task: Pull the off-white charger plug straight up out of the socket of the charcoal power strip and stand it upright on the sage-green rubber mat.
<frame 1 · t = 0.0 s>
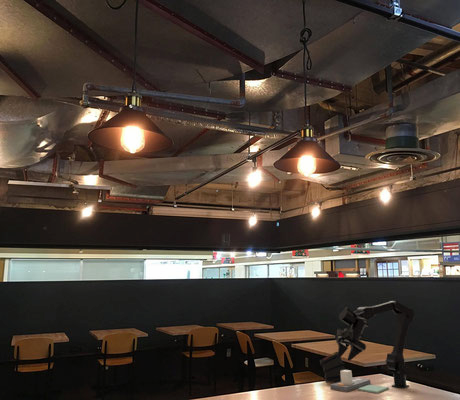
hand: (343, 359, 208), 15 cm above the table, tool tilted 35°, fingers open, 9 cm apart
green mat: (373, 389, 208), on the table
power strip: (351, 386, 217), on the table
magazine: (333, 381, 229), on the table
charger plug: (347, 387, 214), resting in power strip
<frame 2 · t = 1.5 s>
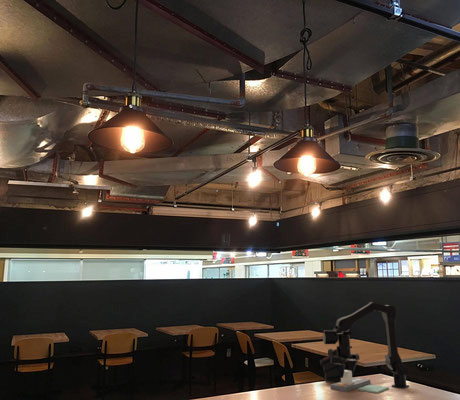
hand: (346, 376, 215), 5 cm above the table, tool pointing down, fingers open, 9 cm apart
nothing on the table moved.
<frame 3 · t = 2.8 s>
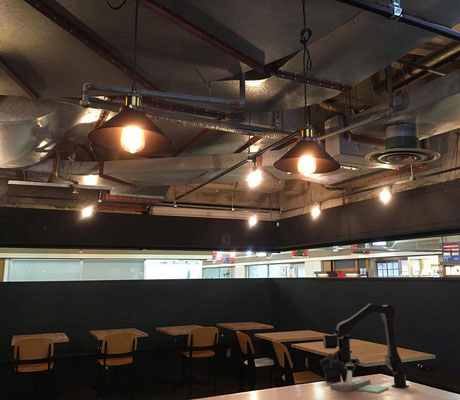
hand: (346, 381, 214), 3 cm above the table, tool pointing down, fingers closed on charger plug, 4 cm apart
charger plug: (347, 387, 214), resting in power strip, touching gripper
everything else where it was.
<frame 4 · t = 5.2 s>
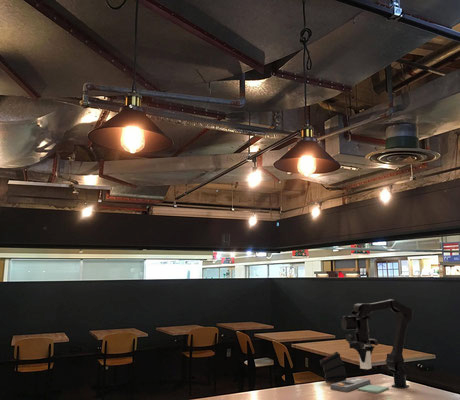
hand: (365, 361, 212), 13 cm above the table, tool pointing down, fingers closed on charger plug, 4 cm apart
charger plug: (366, 368, 212), point 10 cm above the table, touching gripper
everything else where it was.
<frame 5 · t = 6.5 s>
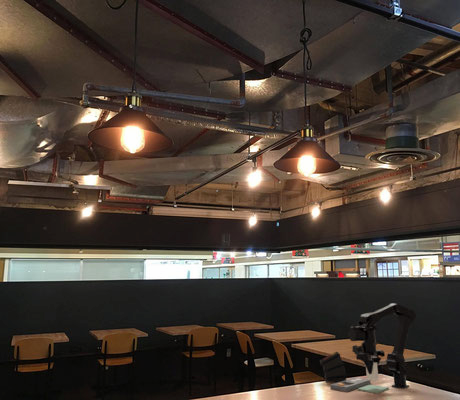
hand: (372, 373, 210), 7 cm above the table, tool pointing down, fingers closed on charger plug, 4 cm apart
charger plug: (372, 379, 209), point 4 cm above the table, touching gripper
everything else where it was.
when the fingers open (5 cm above the table, at t = 7.7 s): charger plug drops 1 cm, resting on green mat.
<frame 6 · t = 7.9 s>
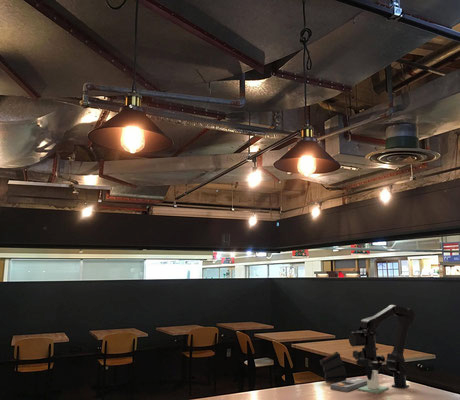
hand: (372, 378, 209), 5 cm above the table, tool pointing down, fingers open, 6 cm apart
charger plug: (373, 387, 209), point 1 cm above the table, touching green mat
everything else where it was.
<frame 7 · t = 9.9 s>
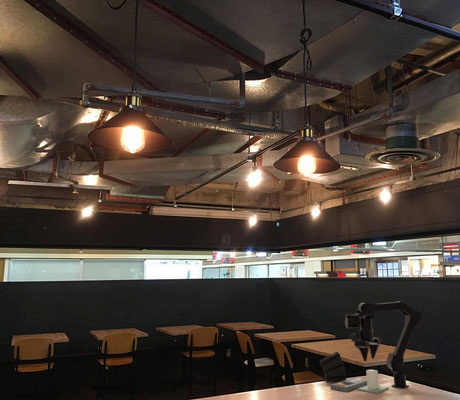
hand: (369, 359, 217), 13 cm above the table, tool pointing down, fingers open, 9 cm apart
nothing on the table moved.
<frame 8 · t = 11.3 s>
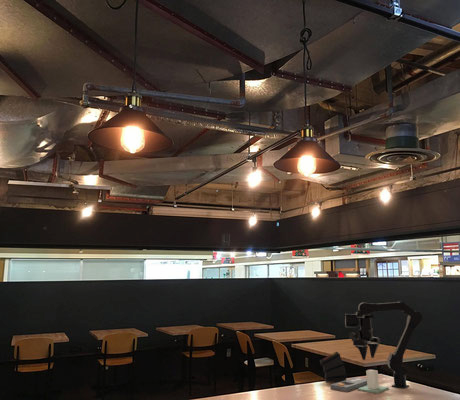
hand: (368, 358, 219), 13 cm above the table, tool pointing down, fingers open, 9 cm apart
nothing on the table moved.
at the end: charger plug inside the target area on the green mat (0.1 cm from its centre), point 0.8 cm above the green mat's base; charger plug tilted 0°; the gripper is holding nothing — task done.
